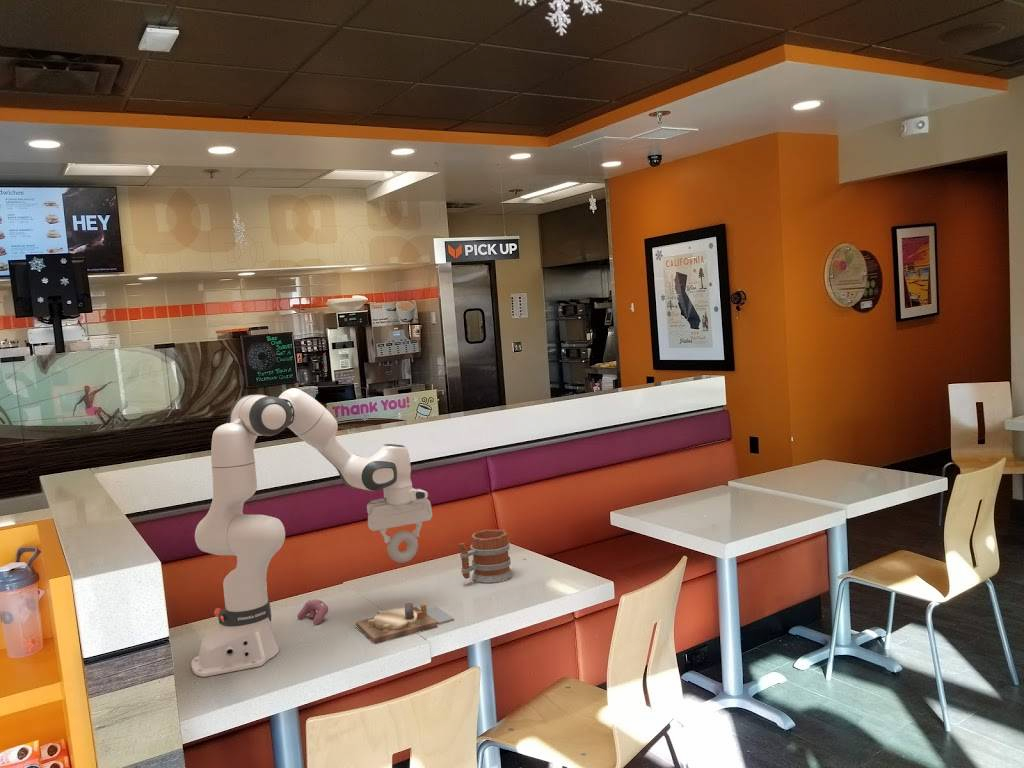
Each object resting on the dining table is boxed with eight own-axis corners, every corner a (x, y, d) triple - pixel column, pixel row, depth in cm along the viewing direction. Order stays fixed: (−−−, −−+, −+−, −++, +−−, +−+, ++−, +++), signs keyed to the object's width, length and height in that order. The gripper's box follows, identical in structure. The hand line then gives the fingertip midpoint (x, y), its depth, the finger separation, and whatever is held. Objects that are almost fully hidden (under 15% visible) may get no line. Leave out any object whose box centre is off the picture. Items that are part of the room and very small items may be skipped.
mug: (521, 575, 272) (518, 532, 271) (476, 590, 260) (472, 545, 259) (495, 568, 283) (492, 526, 282) (451, 582, 271) (447, 538, 270)
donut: (391, 567, 246) (388, 535, 245) (386, 564, 249) (384, 532, 248) (421, 560, 251) (418, 528, 250) (416, 557, 254) (414, 526, 253)
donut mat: (438, 624, 233) (438, 622, 233) (421, 612, 244) (421, 610, 244) (454, 620, 235) (454, 618, 235) (436, 608, 247) (436, 606, 246)
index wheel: (402, 634, 223) (400, 614, 222) (357, 628, 230) (356, 609, 230) (432, 615, 236) (431, 596, 236) (390, 609, 244) (388, 591, 243)
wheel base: (374, 643, 222) (373, 628, 221) (356, 626, 236) (354, 611, 235) (437, 627, 231) (436, 611, 231) (416, 611, 245) (415, 597, 245)
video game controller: (326, 627, 242) (332, 603, 244) (313, 625, 239) (321, 601, 240) (307, 620, 248) (314, 598, 250) (295, 618, 245) (302, 595, 247)
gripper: (369, 502, 241) (373, 548, 242) (432, 491, 251) (435, 535, 252) (362, 499, 246) (366, 543, 247) (424, 488, 256) (427, 531, 257)
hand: (402, 539), depth 250 cm, fingers closed on donut, 8 cm apart
